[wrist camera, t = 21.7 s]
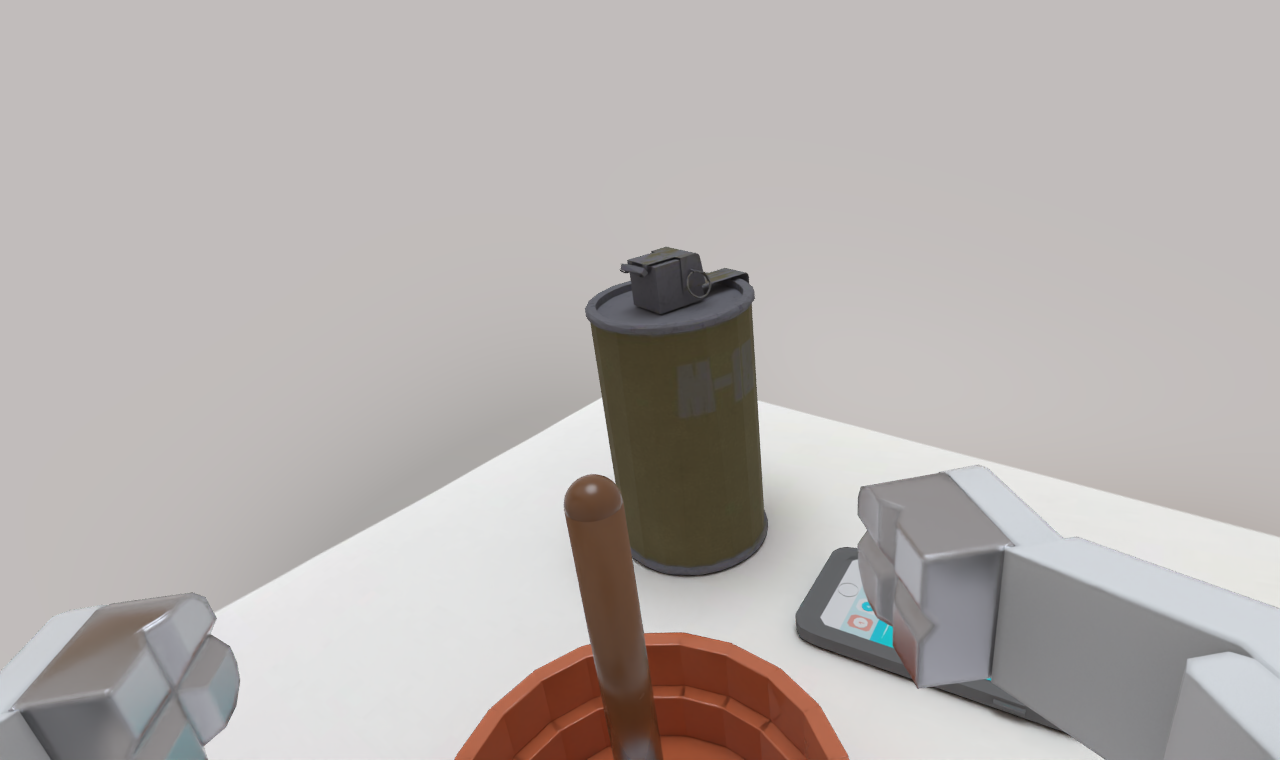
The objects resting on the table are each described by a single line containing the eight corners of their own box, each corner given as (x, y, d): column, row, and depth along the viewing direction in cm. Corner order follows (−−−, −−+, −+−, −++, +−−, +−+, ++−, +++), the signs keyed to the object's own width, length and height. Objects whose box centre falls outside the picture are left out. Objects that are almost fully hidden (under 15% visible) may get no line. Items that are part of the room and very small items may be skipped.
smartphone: (839, 538, 46) (1115, 610, 38) (839, 550, 46) (1113, 624, 38) (786, 625, 40) (1104, 733, 32) (787, 639, 40) (1101, 749, 32)
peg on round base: (631, 996, 25) (534, 572, 18) (561, 853, 30) (462, 473, 22) (764, 893, 28) (730, 484, 20) (680, 778, 33) (627, 413, 25)
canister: (679, 600, 44) (641, 292, 36) (594, 526, 52) (547, 262, 44) (804, 527, 49) (794, 243, 41) (708, 470, 58) (685, 224, 50)
